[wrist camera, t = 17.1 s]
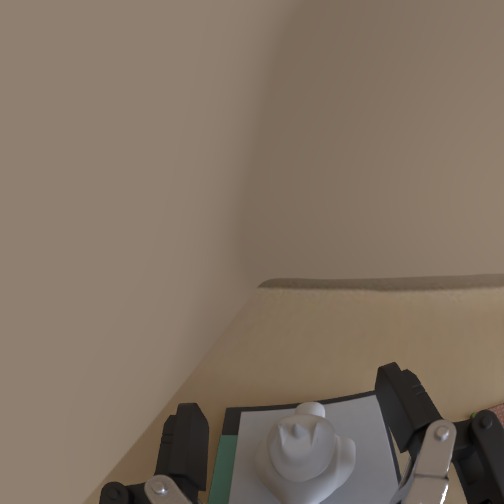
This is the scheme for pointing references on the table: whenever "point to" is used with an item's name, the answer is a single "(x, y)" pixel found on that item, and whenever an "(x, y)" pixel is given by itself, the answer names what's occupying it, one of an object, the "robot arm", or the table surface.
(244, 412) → the scale
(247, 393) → the table surface
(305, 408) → the white sculpted piece
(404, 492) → the robot arm
